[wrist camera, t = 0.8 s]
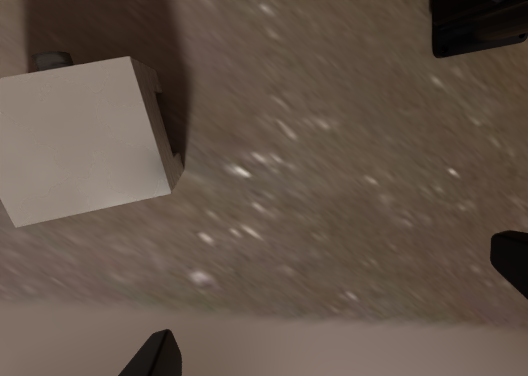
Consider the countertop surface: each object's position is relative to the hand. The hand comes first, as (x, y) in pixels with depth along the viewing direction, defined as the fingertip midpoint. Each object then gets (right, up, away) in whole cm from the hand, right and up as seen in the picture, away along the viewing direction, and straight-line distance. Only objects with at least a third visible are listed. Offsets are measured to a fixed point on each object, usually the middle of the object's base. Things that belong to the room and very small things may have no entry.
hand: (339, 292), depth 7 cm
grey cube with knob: (-11, +6, +9) cm, 16 cm away
